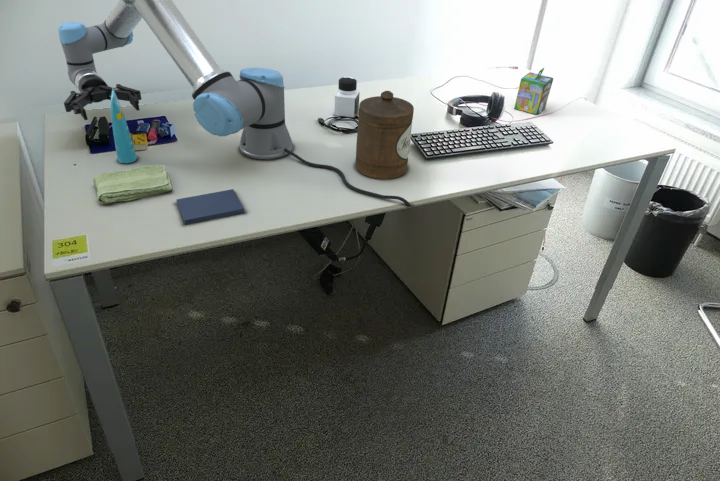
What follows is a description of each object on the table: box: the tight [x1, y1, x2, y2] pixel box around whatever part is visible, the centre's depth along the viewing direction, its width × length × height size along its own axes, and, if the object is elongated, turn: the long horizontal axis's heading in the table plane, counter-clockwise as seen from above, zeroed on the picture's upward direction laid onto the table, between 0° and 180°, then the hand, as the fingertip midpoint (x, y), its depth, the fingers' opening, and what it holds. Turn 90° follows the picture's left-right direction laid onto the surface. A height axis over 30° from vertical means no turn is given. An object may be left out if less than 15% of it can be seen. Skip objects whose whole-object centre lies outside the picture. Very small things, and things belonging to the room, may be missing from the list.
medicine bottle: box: [333, 76, 360, 119], centre depth 176 cm, size 7×7×12 cm
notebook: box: [175, 188, 245, 225], centre depth 126 cm, size 14×10×1 cm
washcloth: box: [92, 164, 173, 205], centre depth 131 cm, size 13×18×3 cm
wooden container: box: [355, 90, 415, 180], centre depth 142 cm, size 15×15×22 cm
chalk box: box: [513, 67, 554, 116], centre depth 187 cm, size 9×9×15 cm
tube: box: [110, 87, 138, 164], centre depth 139 cm, size 7×5×19 cm, turn 26°
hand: (111, 110), depth 142 cm, fingers open, 13 cm apart
